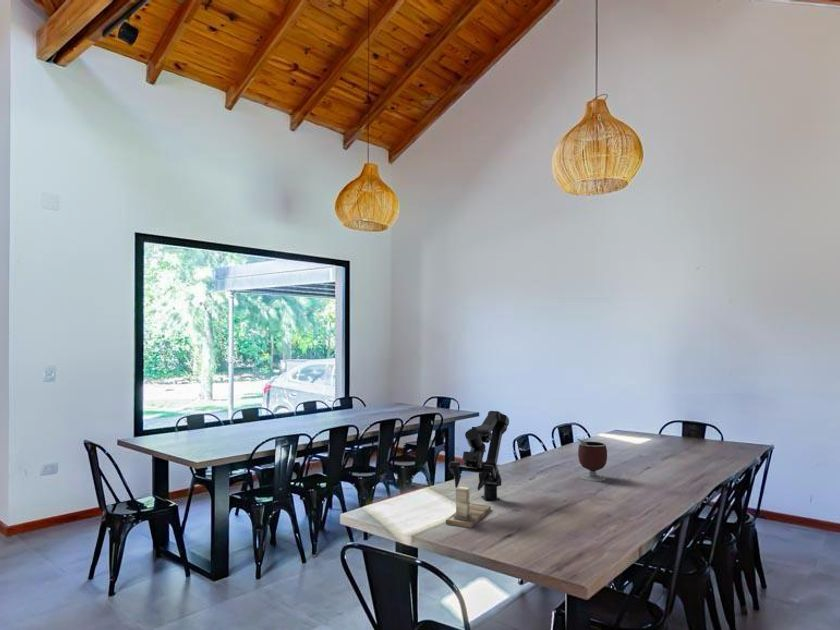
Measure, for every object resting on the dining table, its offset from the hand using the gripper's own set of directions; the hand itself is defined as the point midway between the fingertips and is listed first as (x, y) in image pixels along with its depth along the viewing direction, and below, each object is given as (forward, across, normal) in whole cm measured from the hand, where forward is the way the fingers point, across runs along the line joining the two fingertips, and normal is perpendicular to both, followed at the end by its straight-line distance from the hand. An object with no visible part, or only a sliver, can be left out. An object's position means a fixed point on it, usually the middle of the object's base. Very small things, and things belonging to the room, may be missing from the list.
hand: (467, 488), depth 220 cm
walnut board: (+6, 0, +10) cm, 12 cm away
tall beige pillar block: (+10, 0, +4) cm, 11 cm away
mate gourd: (-52, +35, +68) cm, 92 cm away
